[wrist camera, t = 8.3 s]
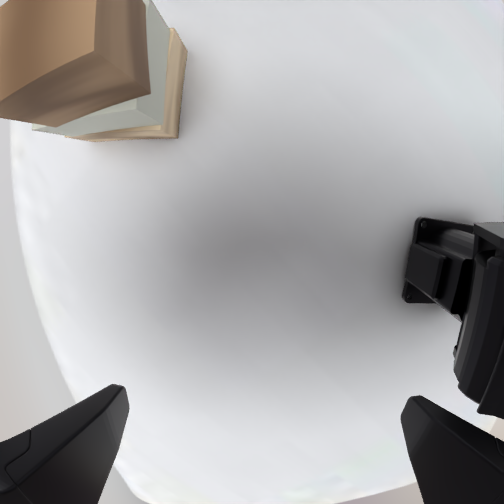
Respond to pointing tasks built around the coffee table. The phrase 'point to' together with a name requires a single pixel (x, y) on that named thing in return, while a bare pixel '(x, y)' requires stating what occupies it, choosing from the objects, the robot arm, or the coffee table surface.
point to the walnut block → (70, 58)
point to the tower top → (135, 110)
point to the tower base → (171, 102)
